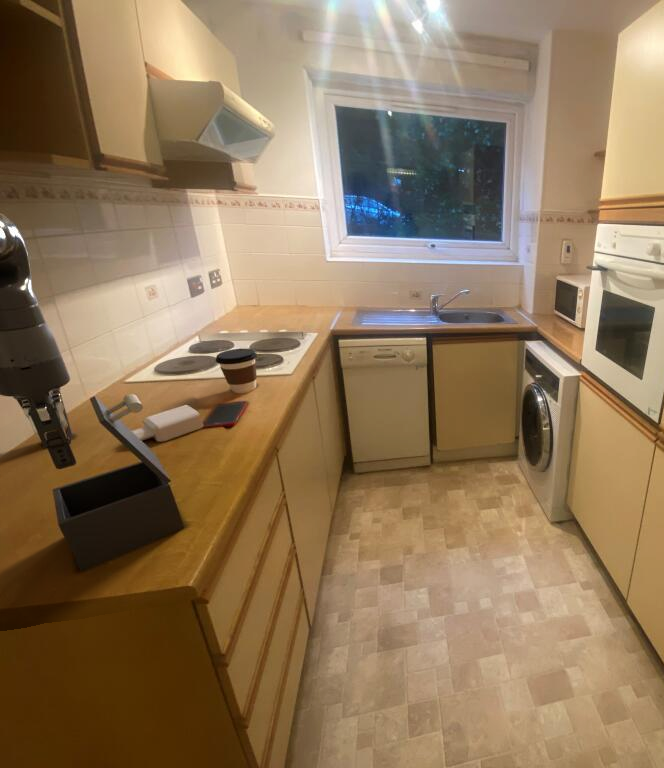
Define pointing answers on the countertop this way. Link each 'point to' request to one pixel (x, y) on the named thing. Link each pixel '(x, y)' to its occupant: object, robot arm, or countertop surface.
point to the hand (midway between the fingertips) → (64, 455)
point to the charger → (170, 424)
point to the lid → (128, 431)
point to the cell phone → (225, 414)
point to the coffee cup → (239, 369)
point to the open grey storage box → (115, 513)
